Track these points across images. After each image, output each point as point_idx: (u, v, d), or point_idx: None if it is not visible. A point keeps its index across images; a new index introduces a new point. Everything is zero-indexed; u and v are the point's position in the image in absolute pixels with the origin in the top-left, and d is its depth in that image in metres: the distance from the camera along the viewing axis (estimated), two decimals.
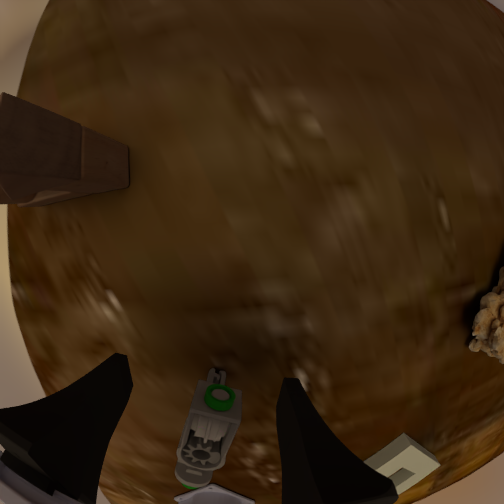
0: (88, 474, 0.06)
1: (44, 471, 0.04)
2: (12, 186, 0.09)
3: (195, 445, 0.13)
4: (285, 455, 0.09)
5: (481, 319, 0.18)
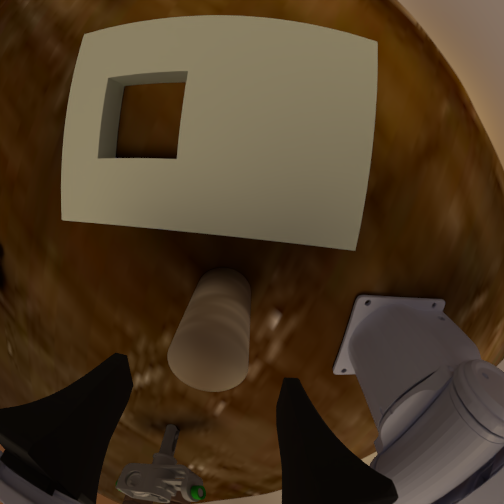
0: (88, 474, 0.06)
1: (44, 471, 0.04)
2: None
3: (154, 495, 0.17)
4: (285, 455, 0.09)
5: None
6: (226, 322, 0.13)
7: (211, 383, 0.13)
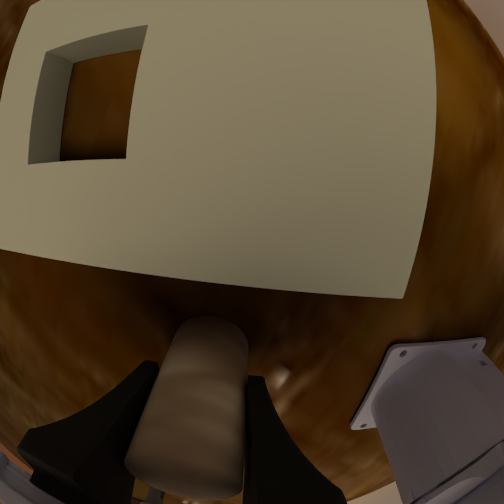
0: (124, 488, 0.06)
1: (87, 493, 0.04)
2: None
3: None
4: (246, 454, 0.08)
5: None
6: (207, 432, 0.07)
7: (191, 493, 0.07)
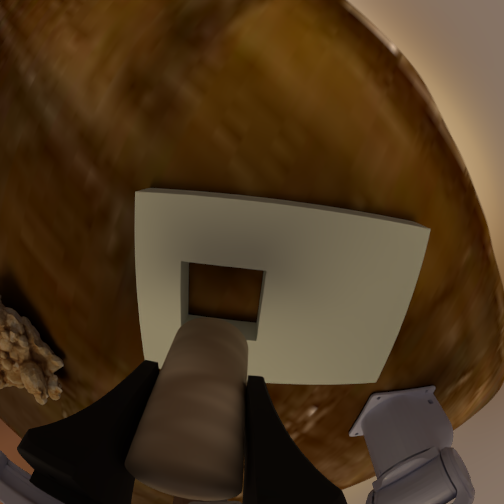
0: (124, 488, 0.06)
1: (87, 493, 0.04)
2: None
3: None
4: (246, 454, 0.08)
5: (55, 399, 0.22)
6: (205, 433, 0.07)
7: (192, 494, 0.07)
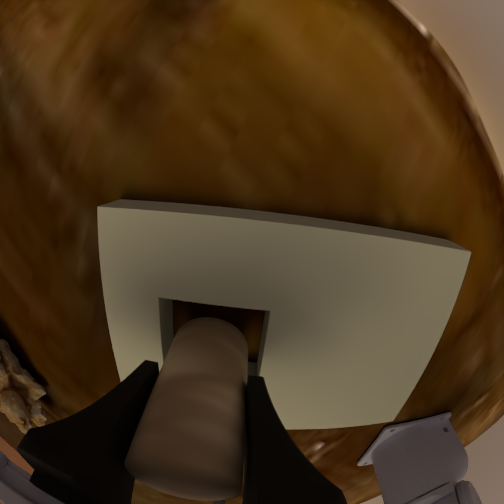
0: (124, 488, 0.06)
1: (87, 493, 0.04)
2: None
3: None
4: (246, 454, 0.08)
5: None
6: (205, 433, 0.07)
7: (192, 495, 0.07)
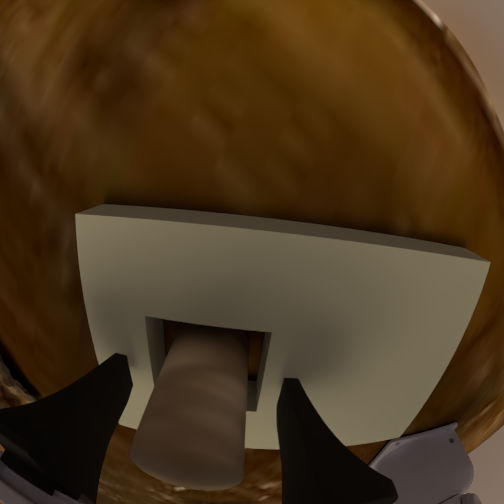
0: (88, 474, 0.06)
1: (44, 471, 0.04)
2: None
3: None
4: (285, 455, 0.09)
5: None
6: (208, 421, 0.07)
7: (195, 484, 0.07)
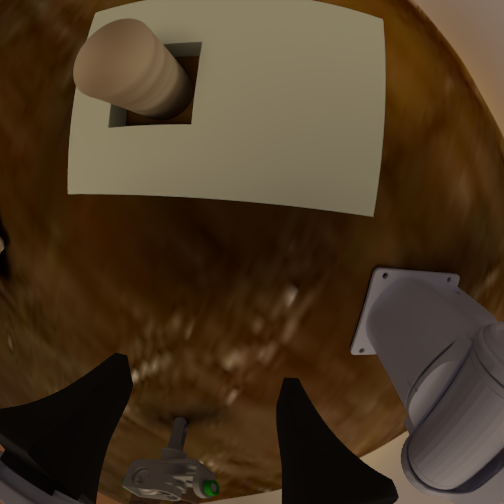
0: (88, 474, 0.06)
1: (44, 471, 0.04)
2: None
3: (163, 492, 0.16)
4: (285, 455, 0.09)
5: None
6: None
7: (110, 81, 0.08)
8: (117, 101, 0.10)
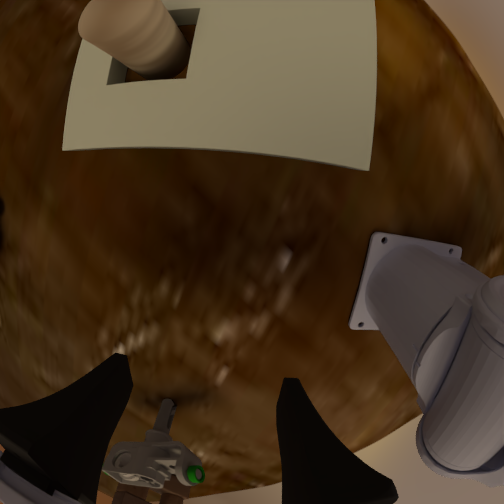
0: (88, 474, 0.06)
1: (44, 471, 0.04)
2: None
3: (145, 478, 0.16)
4: (285, 455, 0.09)
5: None
6: None
7: (111, 28, 0.08)
8: (116, 48, 0.09)
